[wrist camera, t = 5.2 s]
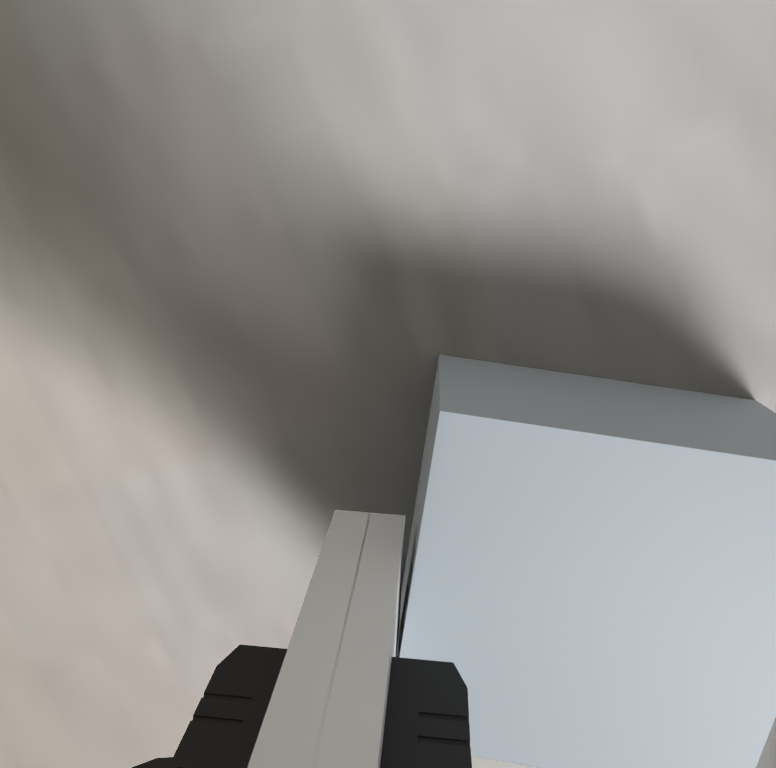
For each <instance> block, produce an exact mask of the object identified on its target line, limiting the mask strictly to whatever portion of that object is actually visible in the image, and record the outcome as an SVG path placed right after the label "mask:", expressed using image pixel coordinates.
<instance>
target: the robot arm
mask: <svg viewBox="0 0 776 768" xmlns="http://www.w3.org/2000/svg"><path fill="white" fill-rule="evenodd" d="M405 519H406V515H395V514H382V513H370V512H357V511H344V510H335V511H334V514H333V517H332V520H331V523H330V526H329V529H328V532H327V535H326V537H325V540H324V543H323V546H322V549H321V552H320V555H319V558H318V561H317V564H316V567H315V570H314V573H313V576H312V579H311V582H310V585H309V587H308V590H307V593H306V596H305V599H304V602H303V605H302V608H301V611H300V614H299V617H298V620H297V623H296V626H295V629H294V632H293V635H292V638H291V640H290V643H289V646H288V649H281V648H270V647H259V646H248V645H239V646H238V647H237V648H236V649H235V650H234V651H233V652H232V653H230V654H229V655H228V656H227V657H226V658H225V659H224V660H223V661H222V662H221V663H220V664H219V665H217V667H216V669H215V671H214V673H213V675H212V677H211V679H210V681H209V684H208V686H207V688H206V690H205V692H204V697H203V698H201V700H200V702H199V705H198V707H197V709H196V711H195V713H194V715H193V720H192V721H190V723H189V725H188V728H187V730H186V732H185V734H184V736H183V738H182V740H181V742H180V744H179V746H178V749H177V751H176V753H175V755H174V757H170V758H156V759H154V760H151V761H148V762H146V763H143V764H140V765H137V766H135V767H132V768H472V765H471V747H470V726H469V707H468V688H467V686H466V684H465V682H464V681H463V679H462V677H461V675H460V674H459V672H458V670H457V668H456V666H455V665H454V663H453V662H443V661H432V660H421V659H410V658H400V657H397V647H398V637H399V626H400V609H401V591H402V573H403V555H404V537H405Z"/></svg>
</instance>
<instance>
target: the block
mask: <svg viewBox="0 0 776 768" xmlns="http://www.w3.org/2000/svg"><path fill="white" fill-rule="evenodd" d="M397 657H400V658H410V659H421V660H432V661H443V662H453V663H454V665H455V666H456V668H457V670H458V672H459V674H460V675H461V677H462V679H463V681H464V682H465V684H466V686H467V688H468V707H469V726H470V747H471V756H472V757H478V758H484V759H490V760H496V761H502V762H508V763H514V764H520V765H526V766H532V767H538V768H756V766H757V763H758V761H759V758H760V756H761V753H762V751H763V748H764V746H765V743H766V741H767V738H768V735H769V733H770V730H771V728H772V725H773V723H774V720H775V718H776V413H774V412H773V411H771V410H770V409H768V408H766V407H765V406H763V405H762V404H760V403H759V402H757V401H756V400H751V399H744V398H737V397H730V396H723V395H716V394H709V393H703V392H696V391H689V390H682V389H675V388H668V387H661V386H654V385H647V384H640V383H633V382H626V381H620V380H613V379H606V378H599V377H592V376H585V375H578V374H571V373H564V372H557V371H550V370H543V369H537V368H530V367H523V366H516V365H509V364H502V363H495V362H488V361H481V360H474V359H467V358H460V357H454V356H447V355H440V354H439V358H438V364H437V370H436V377H435V383H434V389H433V396H432V402H431V408H430V414H429V421H428V427H427V433H426V439H425V446H424V452H423V458H422V464H421V471H420V477H419V483H418V490H417V496H416V502H415V508H414V515H413V521H412V527H411V533H410V540H409V546H408V552H407V558H406V565H405V571H404V577H403V584H402V591H401V609H400V626H399V637H398V647H397Z"/></svg>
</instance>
